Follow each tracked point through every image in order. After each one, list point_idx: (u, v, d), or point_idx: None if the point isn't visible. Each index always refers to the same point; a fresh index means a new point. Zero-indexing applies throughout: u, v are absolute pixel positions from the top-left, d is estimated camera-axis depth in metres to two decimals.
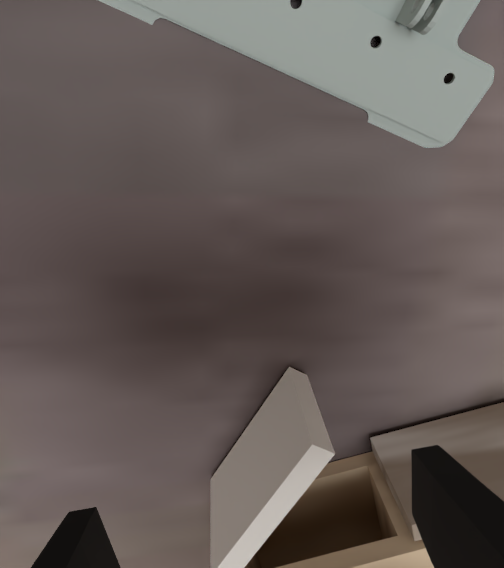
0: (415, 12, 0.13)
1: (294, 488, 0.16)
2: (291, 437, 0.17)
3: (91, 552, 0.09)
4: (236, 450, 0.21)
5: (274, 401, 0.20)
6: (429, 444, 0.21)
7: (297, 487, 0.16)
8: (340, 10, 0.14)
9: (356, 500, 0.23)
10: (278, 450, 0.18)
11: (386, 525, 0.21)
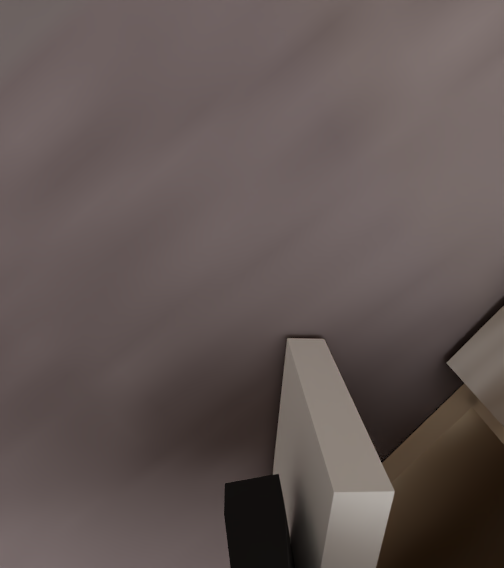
0: None
1: None
2: (310, 473, 0.09)
3: None
4: None
5: (286, 404, 0.11)
6: None
7: None
8: None
9: (498, 461, 0.13)
10: (303, 500, 0.09)
11: None
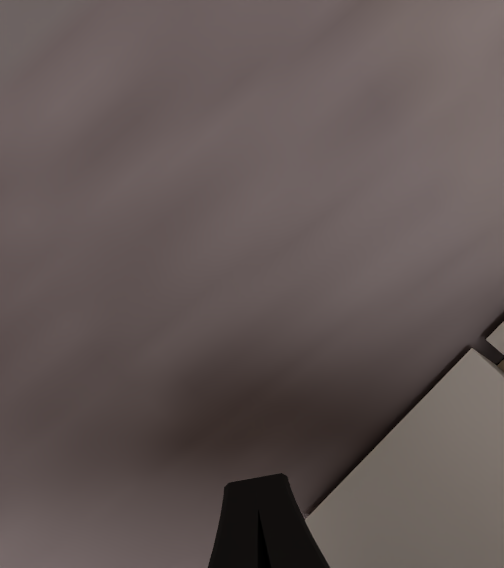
0: None
1: None
2: None
3: None
4: (363, 480, 0.13)
5: (448, 404, 0.12)
6: None
7: None
8: None
9: None
10: (495, 494, 0.09)
11: None
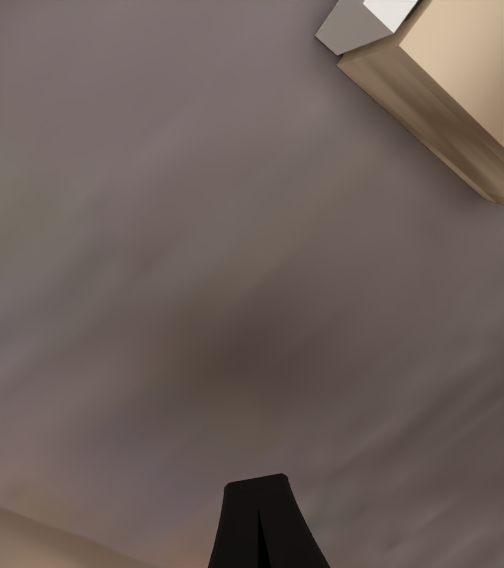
0: None
1: None
2: None
3: None
4: None
5: None
6: None
7: None
8: None
9: None
10: None
11: None
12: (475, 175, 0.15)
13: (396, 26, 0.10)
